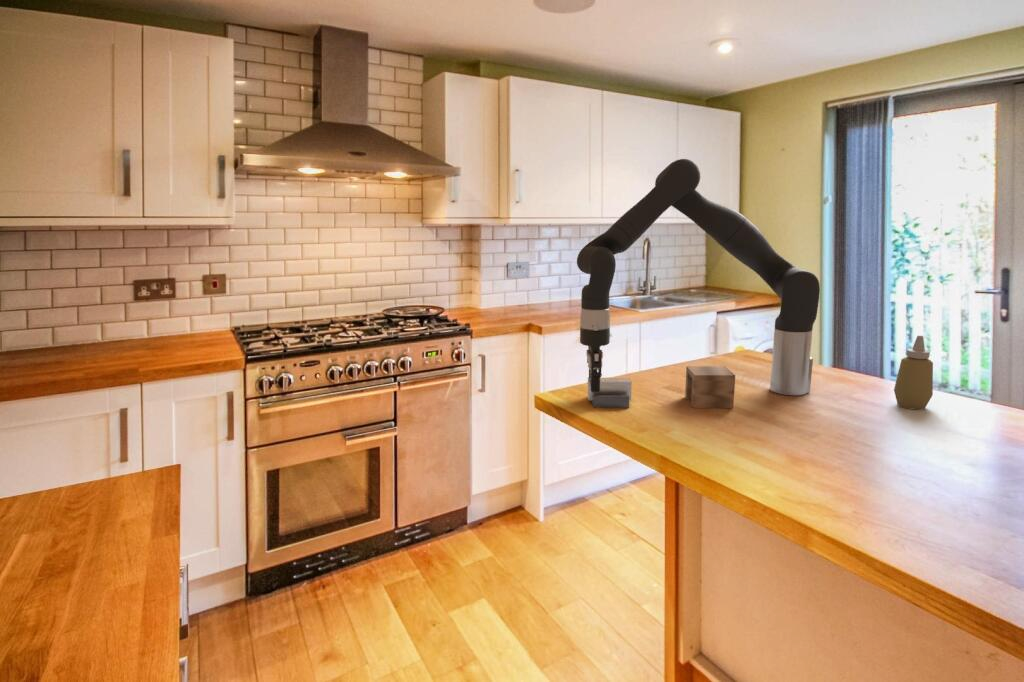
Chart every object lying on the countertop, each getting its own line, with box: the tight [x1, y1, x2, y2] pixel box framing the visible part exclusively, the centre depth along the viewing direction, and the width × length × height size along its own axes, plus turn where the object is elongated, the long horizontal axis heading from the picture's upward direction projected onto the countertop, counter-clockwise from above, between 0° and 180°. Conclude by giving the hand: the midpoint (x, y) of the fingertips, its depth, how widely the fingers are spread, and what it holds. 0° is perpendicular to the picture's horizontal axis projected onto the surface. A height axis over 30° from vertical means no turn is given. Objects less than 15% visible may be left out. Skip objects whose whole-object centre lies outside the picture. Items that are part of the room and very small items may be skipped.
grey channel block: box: [591, 395, 630, 409], centre depth 159 cm, size 9×10×3 cm
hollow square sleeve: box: [684, 365, 736, 409], centre depth 157 cm, size 10×9×8 cm
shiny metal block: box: [587, 377, 633, 402], centre depth 158 cm, size 11×4×5 cm, turn 85°
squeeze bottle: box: [893, 335, 934, 410], centre depth 150 cm, size 8×8×18 cm
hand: (594, 386), depth 159 cm, fingers open, 8 cm apart
